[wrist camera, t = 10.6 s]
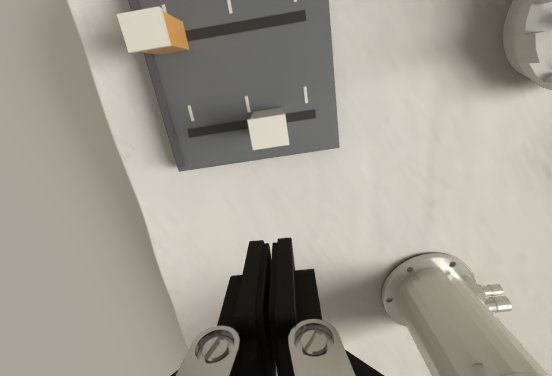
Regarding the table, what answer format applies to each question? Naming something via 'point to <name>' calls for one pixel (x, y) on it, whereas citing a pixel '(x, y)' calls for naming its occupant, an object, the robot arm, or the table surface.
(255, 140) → the grey fader
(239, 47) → the fader board
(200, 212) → the table surface
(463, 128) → the table surface
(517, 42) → the flag stand
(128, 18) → the orange fader
